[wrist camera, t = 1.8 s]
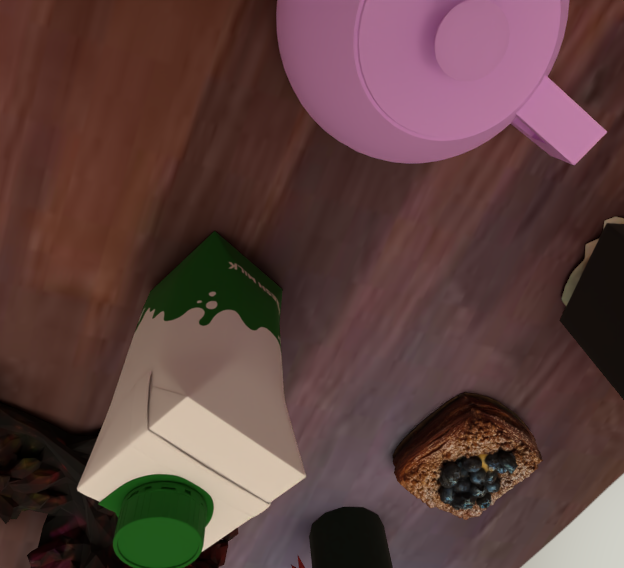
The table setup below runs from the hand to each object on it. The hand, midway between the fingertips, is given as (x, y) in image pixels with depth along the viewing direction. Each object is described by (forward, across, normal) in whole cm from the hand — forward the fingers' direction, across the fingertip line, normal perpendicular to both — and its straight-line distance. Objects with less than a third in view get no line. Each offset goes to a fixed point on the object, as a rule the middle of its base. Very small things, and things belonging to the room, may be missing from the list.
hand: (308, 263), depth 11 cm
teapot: (+26, +9, +2) cm, 27 cm away
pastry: (+22, +22, -34) cm, 46 cm away
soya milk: (+25, -2, -18) cm, 31 cm away
